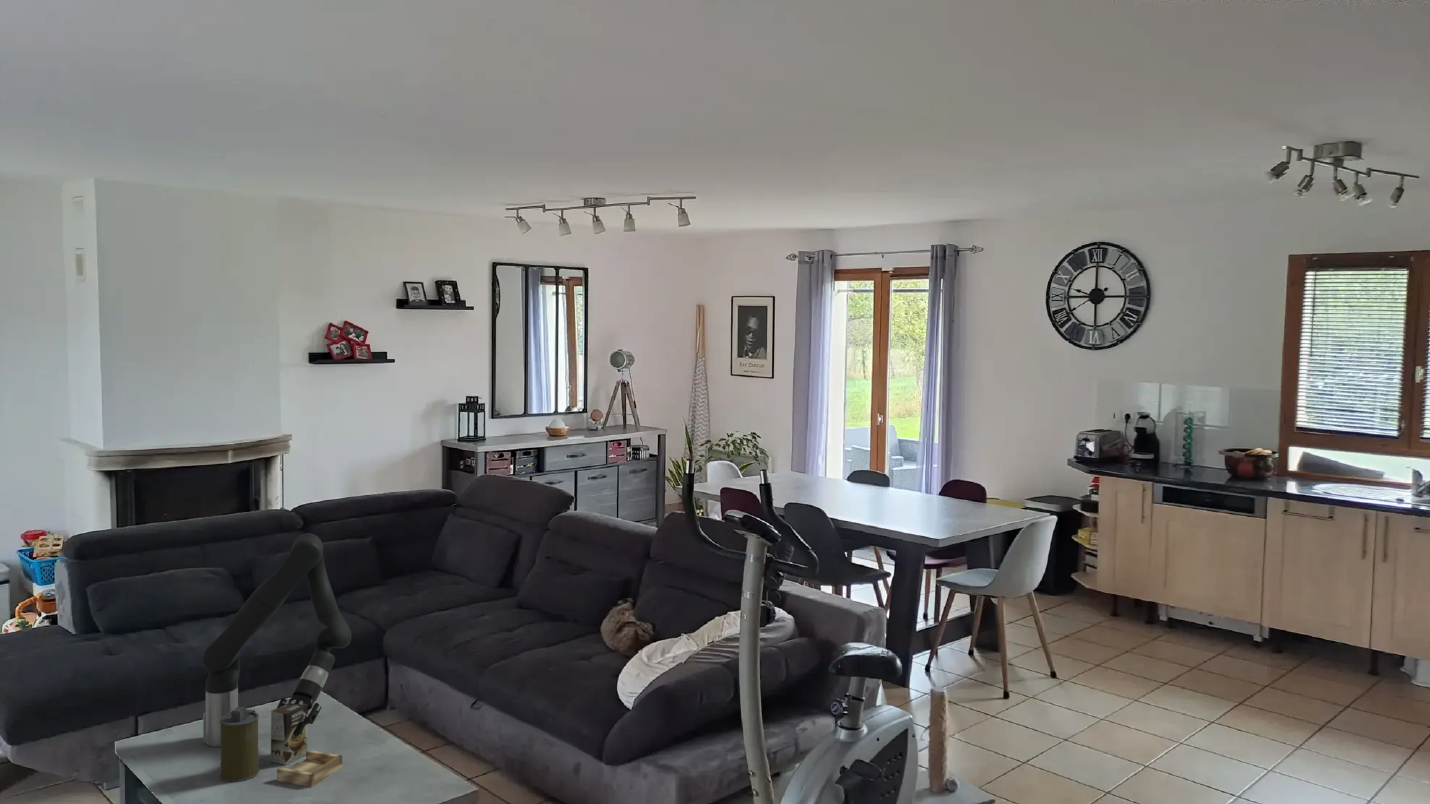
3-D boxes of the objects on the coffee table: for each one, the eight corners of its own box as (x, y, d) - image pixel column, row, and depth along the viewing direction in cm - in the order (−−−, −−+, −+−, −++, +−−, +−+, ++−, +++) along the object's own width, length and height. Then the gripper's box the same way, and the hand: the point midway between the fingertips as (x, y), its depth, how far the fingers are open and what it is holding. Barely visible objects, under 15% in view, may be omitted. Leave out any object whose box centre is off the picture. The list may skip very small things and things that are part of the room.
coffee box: (286, 765, 303) (286, 714, 302) (270, 761, 305) (269, 710, 304) (308, 754, 311) (308, 703, 310) (292, 750, 314) (292, 700, 313)
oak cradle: (277, 780, 293) (276, 768, 293) (308, 761, 306) (308, 749, 306) (311, 787, 290) (311, 775, 289) (342, 767, 303) (342, 755, 303)
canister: (243, 784, 290) (243, 717, 289) (212, 779, 292) (211, 713, 291) (267, 768, 301) (267, 703, 299) (237, 764, 303) (236, 700, 301)
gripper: (286, 675, 316) (260, 725, 305) (325, 680, 312) (299, 731, 301) (297, 685, 321) (272, 735, 311) (336, 691, 317) (311, 741, 307)
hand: (286, 733), depth 306 cm, fingers closed on coffee box, 6 cm apart
